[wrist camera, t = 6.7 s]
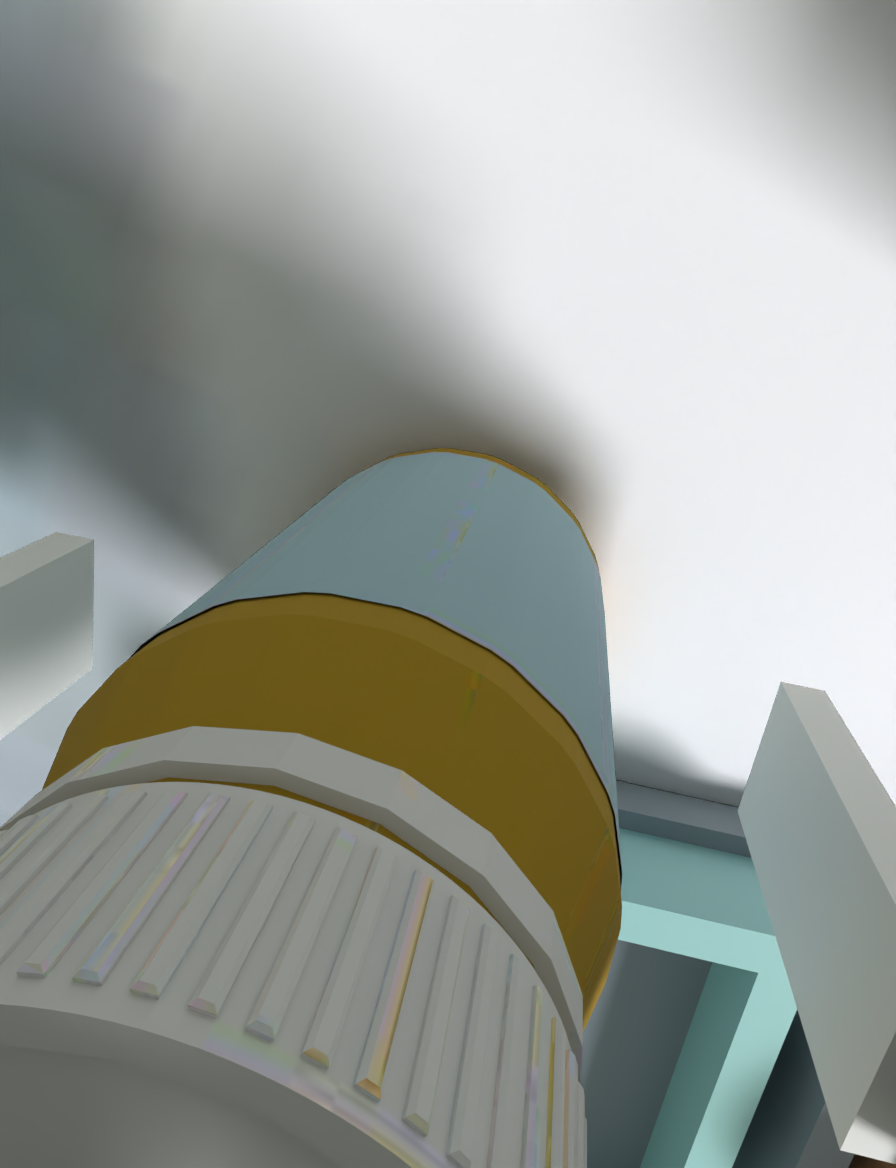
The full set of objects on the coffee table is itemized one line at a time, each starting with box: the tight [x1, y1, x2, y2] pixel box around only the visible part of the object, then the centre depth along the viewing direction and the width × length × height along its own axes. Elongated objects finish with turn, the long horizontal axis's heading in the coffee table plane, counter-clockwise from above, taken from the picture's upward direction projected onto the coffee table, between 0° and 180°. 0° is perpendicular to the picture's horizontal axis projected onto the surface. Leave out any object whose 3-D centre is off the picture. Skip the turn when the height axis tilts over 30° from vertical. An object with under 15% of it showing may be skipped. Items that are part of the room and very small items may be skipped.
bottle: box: [0, 448, 622, 1168], centre depth 12 cm, size 7×7×15 cm
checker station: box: [581, 781, 854, 1168], centre depth 21 cm, size 14×24×4 cm, turn 81°
